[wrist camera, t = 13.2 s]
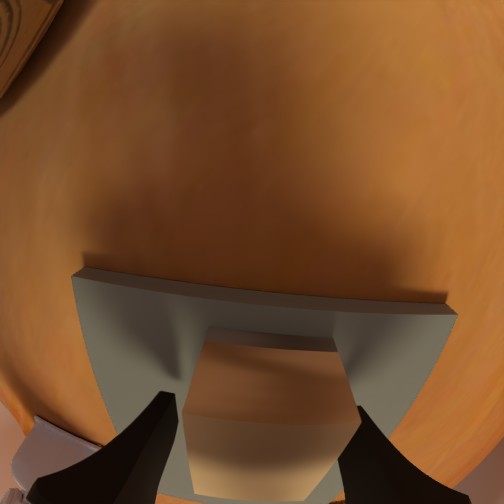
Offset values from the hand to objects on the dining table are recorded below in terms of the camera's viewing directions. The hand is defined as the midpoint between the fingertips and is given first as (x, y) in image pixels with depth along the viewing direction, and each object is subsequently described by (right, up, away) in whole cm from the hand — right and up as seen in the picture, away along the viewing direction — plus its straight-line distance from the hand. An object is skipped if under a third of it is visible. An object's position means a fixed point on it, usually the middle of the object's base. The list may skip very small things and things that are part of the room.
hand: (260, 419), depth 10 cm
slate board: (-1, -6, +5) cm, 8 cm away
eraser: (0, 0, +2) cm, 2 cm away
